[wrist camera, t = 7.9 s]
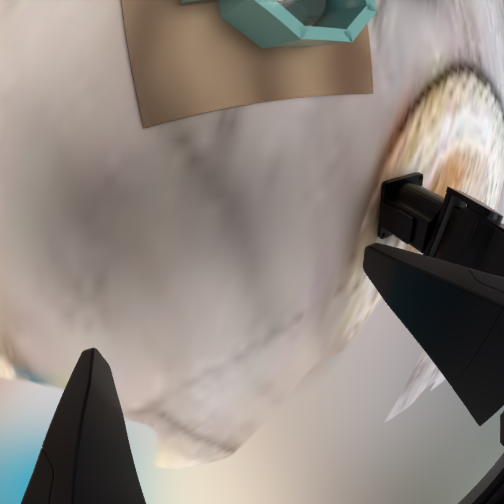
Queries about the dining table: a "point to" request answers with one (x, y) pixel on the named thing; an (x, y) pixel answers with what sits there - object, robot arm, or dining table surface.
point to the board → (227, 62)
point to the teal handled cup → (296, 22)
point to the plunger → (304, 9)
